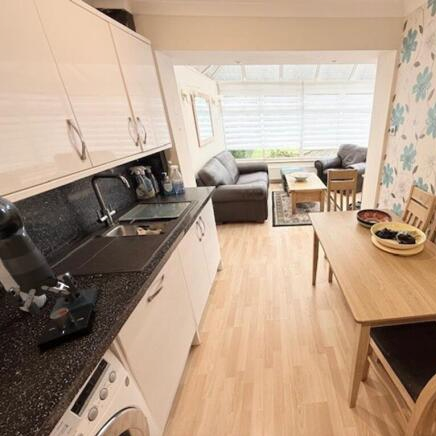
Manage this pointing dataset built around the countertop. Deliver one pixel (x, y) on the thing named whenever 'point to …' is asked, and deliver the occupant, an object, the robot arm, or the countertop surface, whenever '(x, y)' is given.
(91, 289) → the button box
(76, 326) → the dial panel
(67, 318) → the knob
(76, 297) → the button
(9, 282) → the water bottle
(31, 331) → the countertop surface
